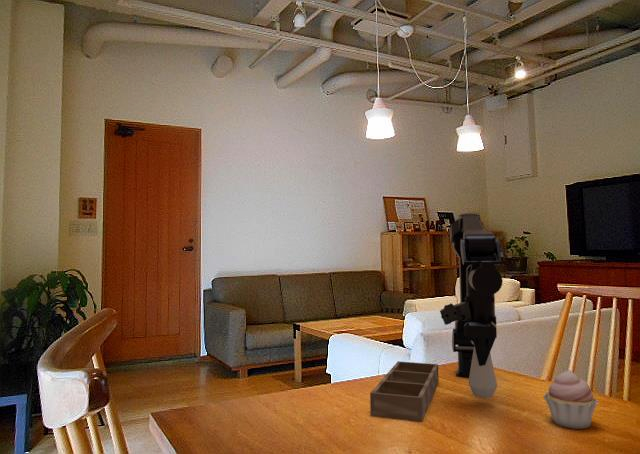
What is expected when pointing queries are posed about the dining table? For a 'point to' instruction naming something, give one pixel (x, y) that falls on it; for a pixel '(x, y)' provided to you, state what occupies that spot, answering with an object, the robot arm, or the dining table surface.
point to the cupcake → (570, 401)
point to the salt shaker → (482, 377)
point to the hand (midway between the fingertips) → (482, 364)
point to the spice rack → (405, 391)
